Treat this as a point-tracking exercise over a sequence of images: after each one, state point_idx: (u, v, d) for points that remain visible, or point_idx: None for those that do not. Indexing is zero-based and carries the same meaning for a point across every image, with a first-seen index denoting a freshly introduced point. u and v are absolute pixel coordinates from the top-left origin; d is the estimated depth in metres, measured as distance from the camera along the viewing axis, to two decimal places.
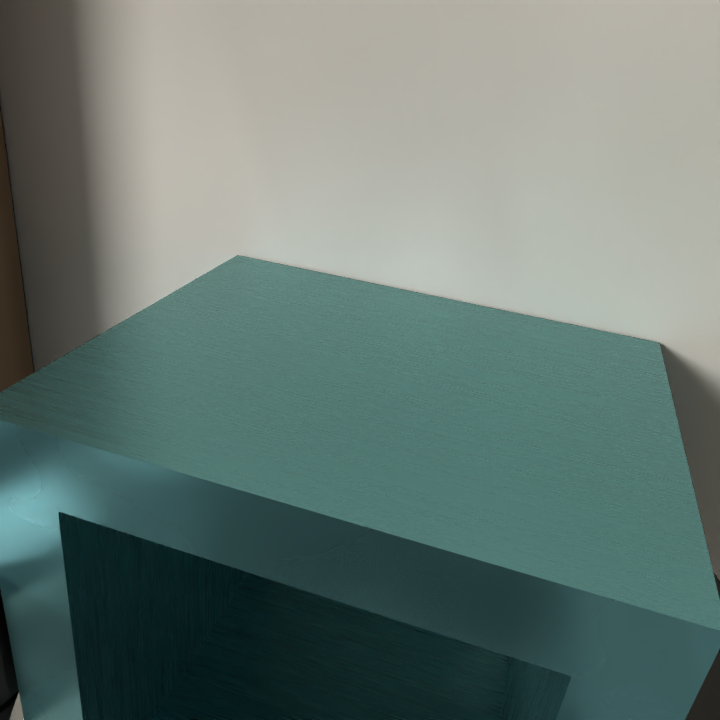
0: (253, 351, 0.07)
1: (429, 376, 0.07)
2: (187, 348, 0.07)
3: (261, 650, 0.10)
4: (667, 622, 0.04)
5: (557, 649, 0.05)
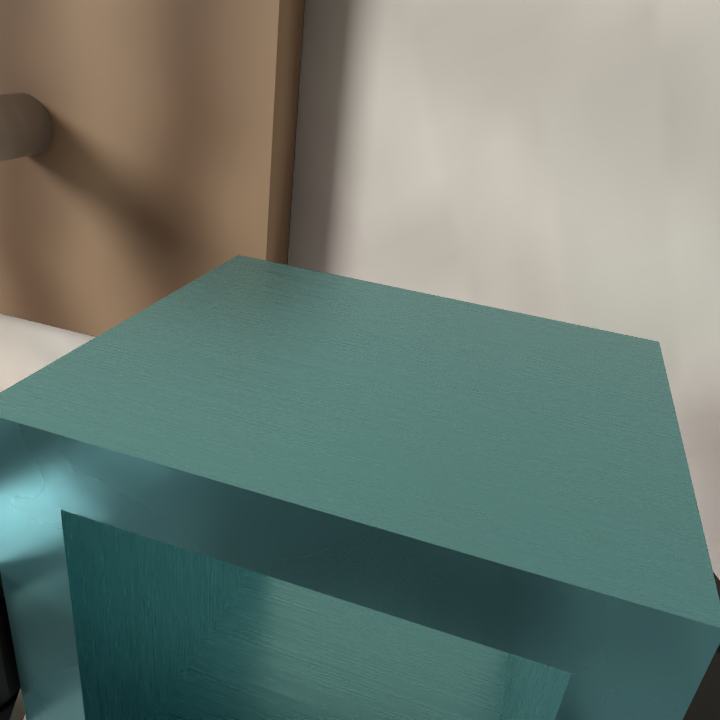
0: (254, 350, 0.07)
1: (429, 375, 0.07)
2: (188, 347, 0.07)
3: (262, 648, 0.10)
4: (666, 619, 0.05)
5: (557, 646, 0.05)
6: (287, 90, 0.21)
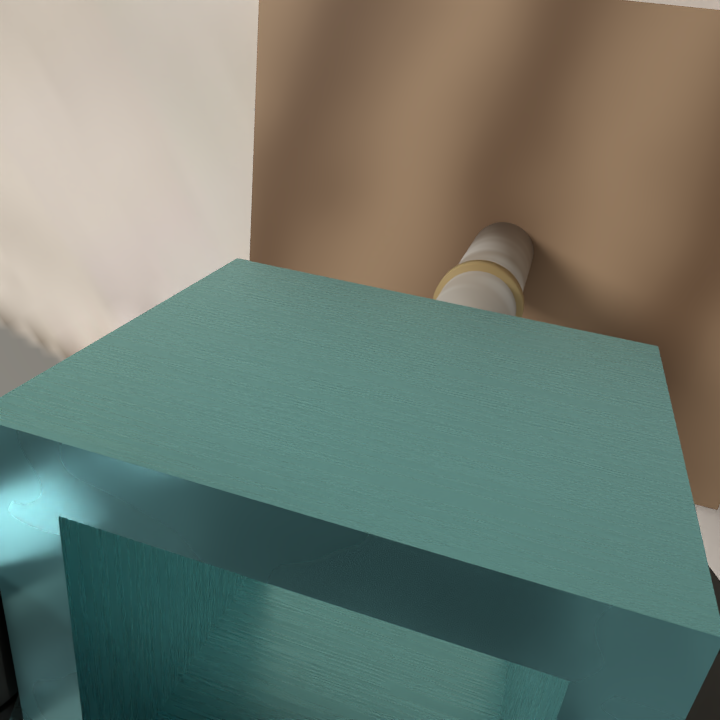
0: (253, 355, 0.07)
1: (427, 381, 0.07)
2: (187, 352, 0.07)
3: (261, 652, 0.10)
4: (665, 628, 0.05)
5: (555, 654, 0.05)
6: None
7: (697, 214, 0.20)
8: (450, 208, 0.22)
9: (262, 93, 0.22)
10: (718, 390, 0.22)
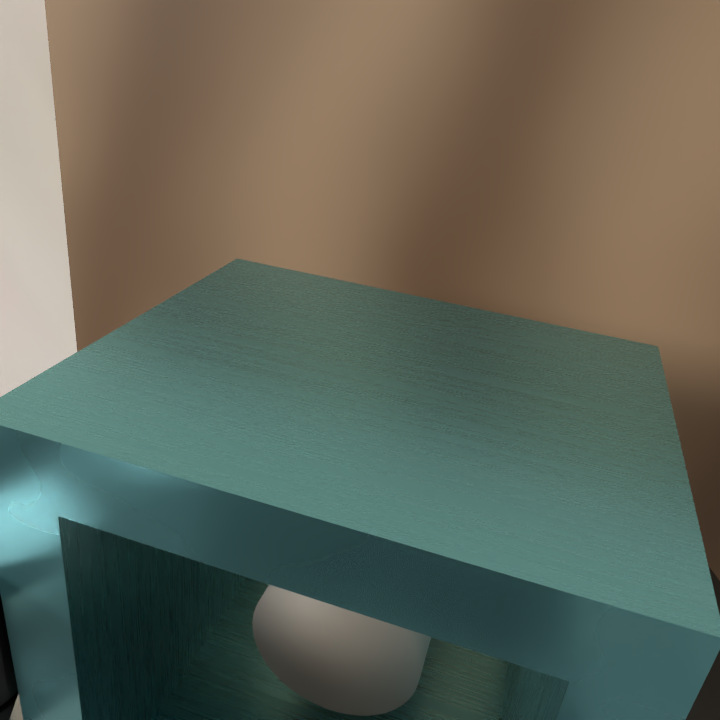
0: (252, 355, 0.07)
1: (428, 381, 0.07)
2: (187, 352, 0.07)
3: None
4: (665, 628, 0.05)
5: (555, 654, 0.05)
6: None
7: None
8: None
9: (66, 127, 0.14)
10: None
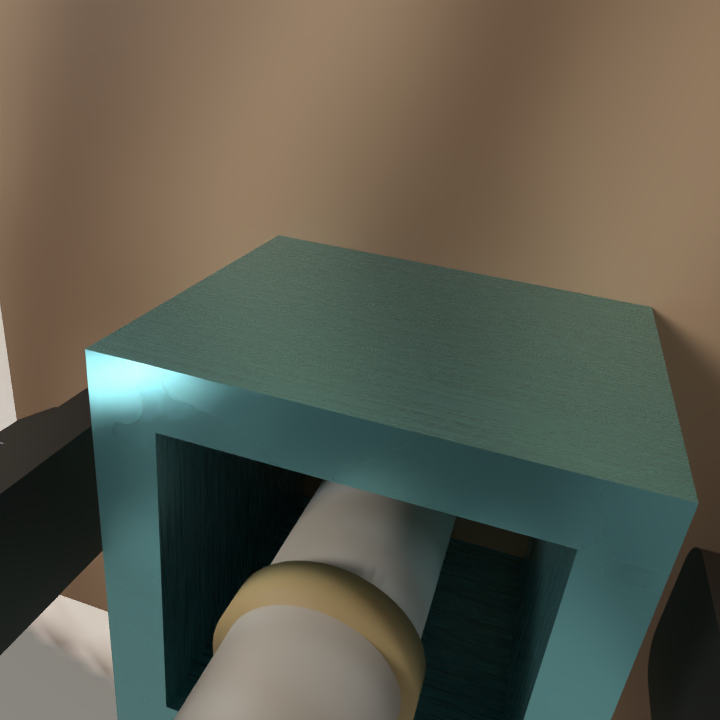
0: (305, 309, 0.09)
1: (454, 329, 0.08)
2: (250, 306, 0.08)
3: None
4: (652, 498, 0.06)
5: (566, 527, 0.06)
6: None
7: None
8: None
9: None
10: None
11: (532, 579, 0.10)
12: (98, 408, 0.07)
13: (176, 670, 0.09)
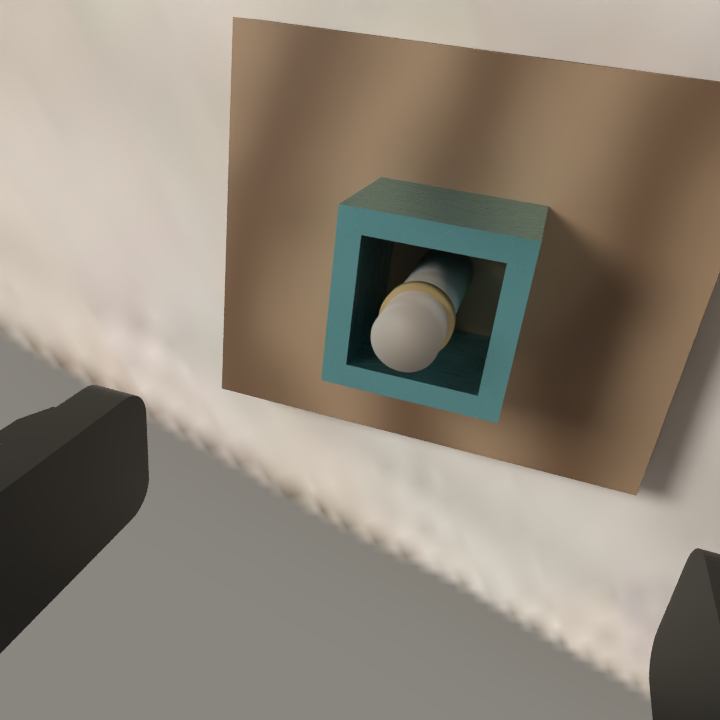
0: (406, 199, 0.22)
1: (465, 206, 0.22)
2: (385, 197, 0.22)
3: None
4: (528, 241, 0.19)
5: (503, 255, 0.19)
6: None
7: (610, 239, 0.23)
8: None
9: (235, 128, 0.25)
10: (633, 391, 0.25)
11: None
12: (339, 227, 0.20)
13: (350, 350, 0.22)
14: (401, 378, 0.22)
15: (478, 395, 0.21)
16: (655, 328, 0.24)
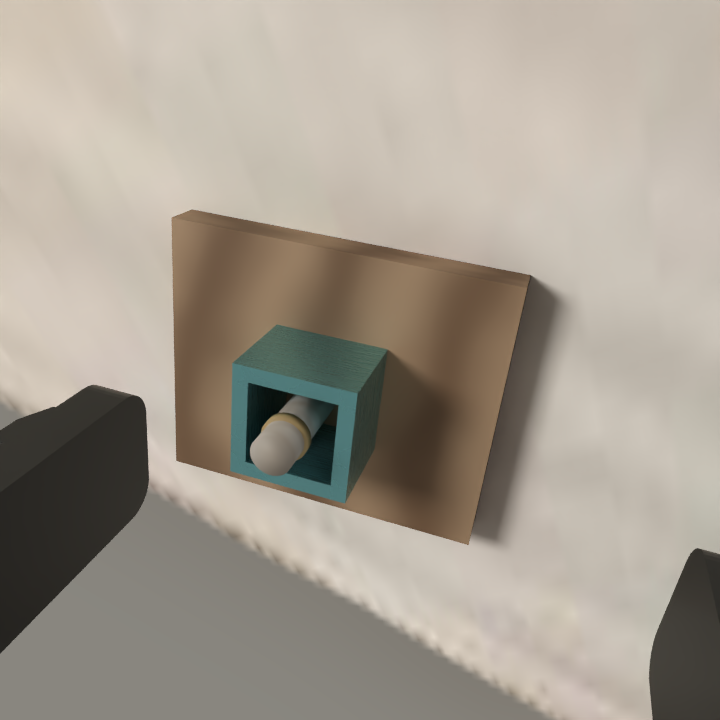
0: (283, 351, 0.32)
1: (323, 357, 0.32)
2: (269, 351, 0.32)
3: None
4: (350, 393, 0.29)
5: (335, 400, 0.30)
6: None
7: (430, 373, 0.33)
8: None
9: (177, 287, 0.36)
10: (457, 473, 0.35)
11: None
12: (234, 377, 0.31)
13: (248, 452, 0.33)
14: None
15: (330, 485, 0.32)
16: (466, 432, 0.34)
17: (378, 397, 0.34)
